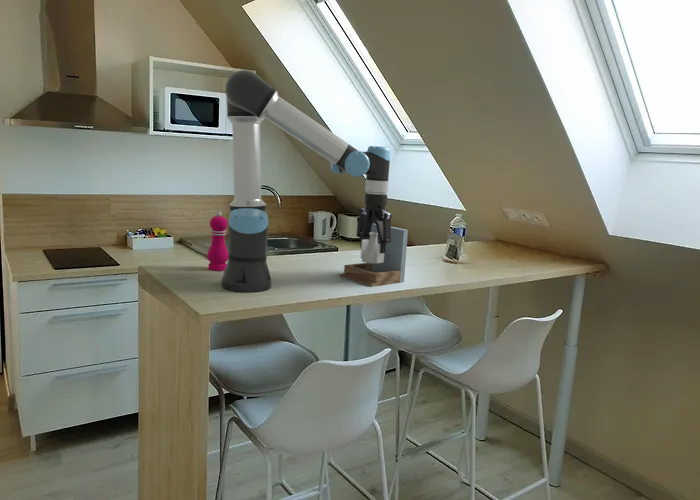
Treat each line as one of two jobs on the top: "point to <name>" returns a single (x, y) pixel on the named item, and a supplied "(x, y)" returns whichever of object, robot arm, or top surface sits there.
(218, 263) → the pepper mill
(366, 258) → the flask
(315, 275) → the top surface
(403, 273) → the wall board
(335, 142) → the robot arm
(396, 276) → the wooden tray
